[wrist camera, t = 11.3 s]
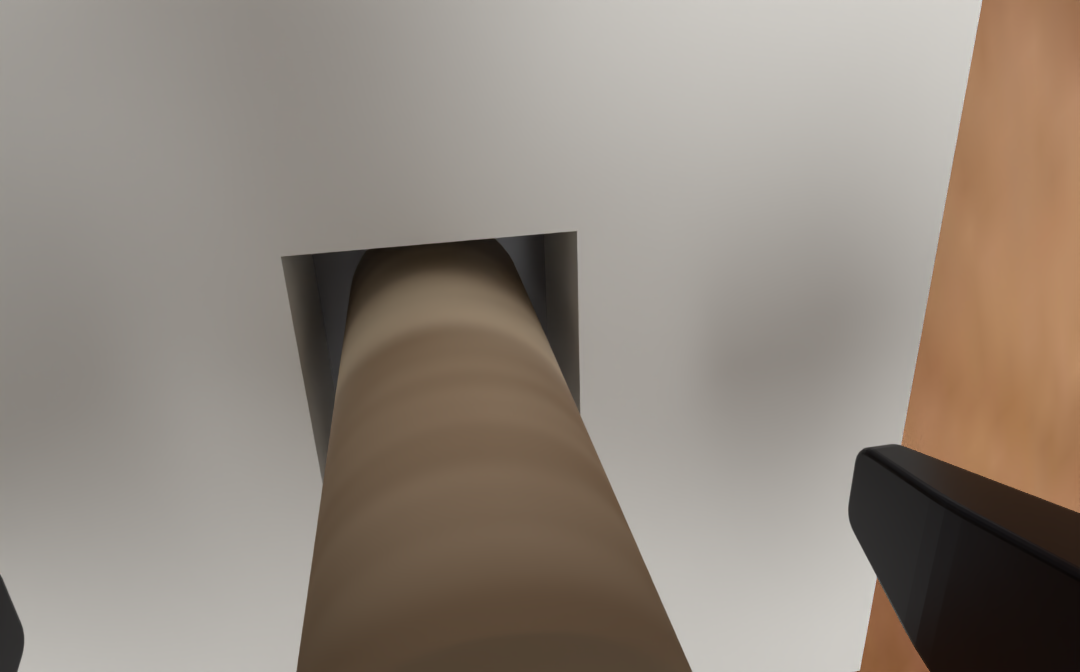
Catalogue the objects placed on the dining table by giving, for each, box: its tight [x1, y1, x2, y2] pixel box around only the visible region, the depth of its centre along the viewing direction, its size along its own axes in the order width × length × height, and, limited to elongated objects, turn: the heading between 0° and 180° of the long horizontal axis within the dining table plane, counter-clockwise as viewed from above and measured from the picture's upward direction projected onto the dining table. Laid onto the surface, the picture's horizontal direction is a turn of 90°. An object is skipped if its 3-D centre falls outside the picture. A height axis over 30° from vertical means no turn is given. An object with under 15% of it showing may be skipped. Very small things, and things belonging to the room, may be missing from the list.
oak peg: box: [296, 238, 692, 672], centre depth 10 cm, size 3×3×10 cm
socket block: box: [0, 0, 982, 672], centre depth 14 cm, size 16×16×4 cm
